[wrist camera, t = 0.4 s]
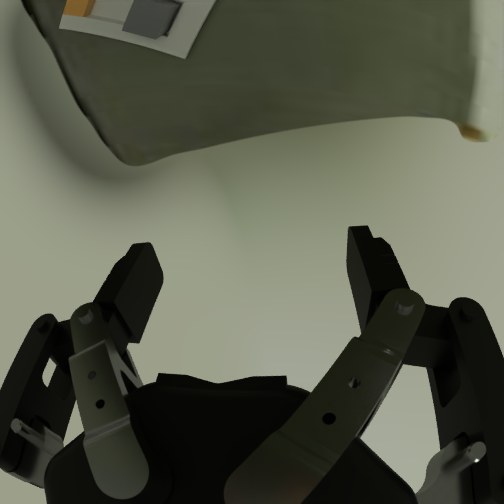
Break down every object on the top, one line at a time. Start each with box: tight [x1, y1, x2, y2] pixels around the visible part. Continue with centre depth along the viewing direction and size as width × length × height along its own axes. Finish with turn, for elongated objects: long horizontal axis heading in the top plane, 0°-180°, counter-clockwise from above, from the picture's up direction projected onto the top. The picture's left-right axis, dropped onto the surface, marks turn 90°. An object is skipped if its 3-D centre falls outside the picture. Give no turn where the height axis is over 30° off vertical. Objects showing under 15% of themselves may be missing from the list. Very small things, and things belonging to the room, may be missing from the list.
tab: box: [122, 0, 182, 40], centre depth 21 cm, size 4×4×6 cm
